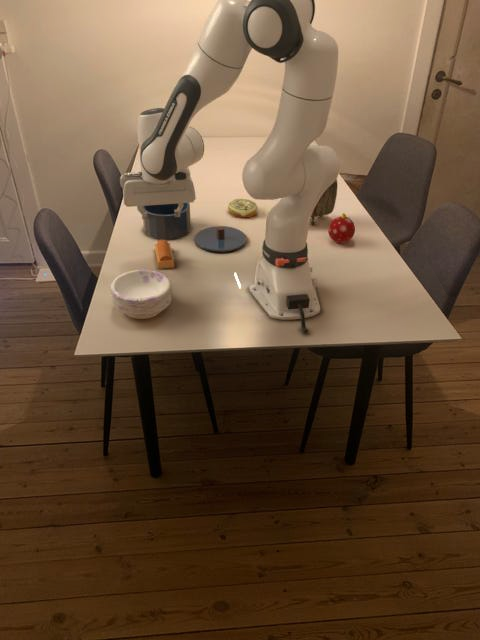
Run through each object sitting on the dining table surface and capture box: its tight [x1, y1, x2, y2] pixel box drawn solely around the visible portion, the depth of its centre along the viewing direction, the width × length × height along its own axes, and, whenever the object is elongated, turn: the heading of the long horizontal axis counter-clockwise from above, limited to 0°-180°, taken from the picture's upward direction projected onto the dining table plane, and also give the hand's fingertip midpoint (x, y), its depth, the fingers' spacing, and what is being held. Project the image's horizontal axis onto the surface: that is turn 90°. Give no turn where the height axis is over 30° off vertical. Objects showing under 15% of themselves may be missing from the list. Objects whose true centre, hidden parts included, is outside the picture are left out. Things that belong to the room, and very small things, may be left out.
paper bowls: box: [110, 269, 173, 320], centre depth 126 cm, size 15×15×8 cm
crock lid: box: [194, 225, 247, 253], centre depth 158 cm, size 17×17×5 cm
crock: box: [142, 203, 192, 241], centre depth 163 cm, size 16×16×8 cm
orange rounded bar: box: [154, 239, 175, 270], centre depth 148 cm, size 11×5×4 cm, turn 13°
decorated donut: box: [227, 198, 259, 218], centre depth 176 cm, size 10×11×4 cm
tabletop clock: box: [310, 178, 338, 226], centre depth 164 cm, size 14×9×25 cm, turn 108°
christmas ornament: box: [327, 212, 356, 244], centre depth 158 cm, size 9×9×10 cm
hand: (161, 217), depth 141 cm, fingers open, 8 cm apart
